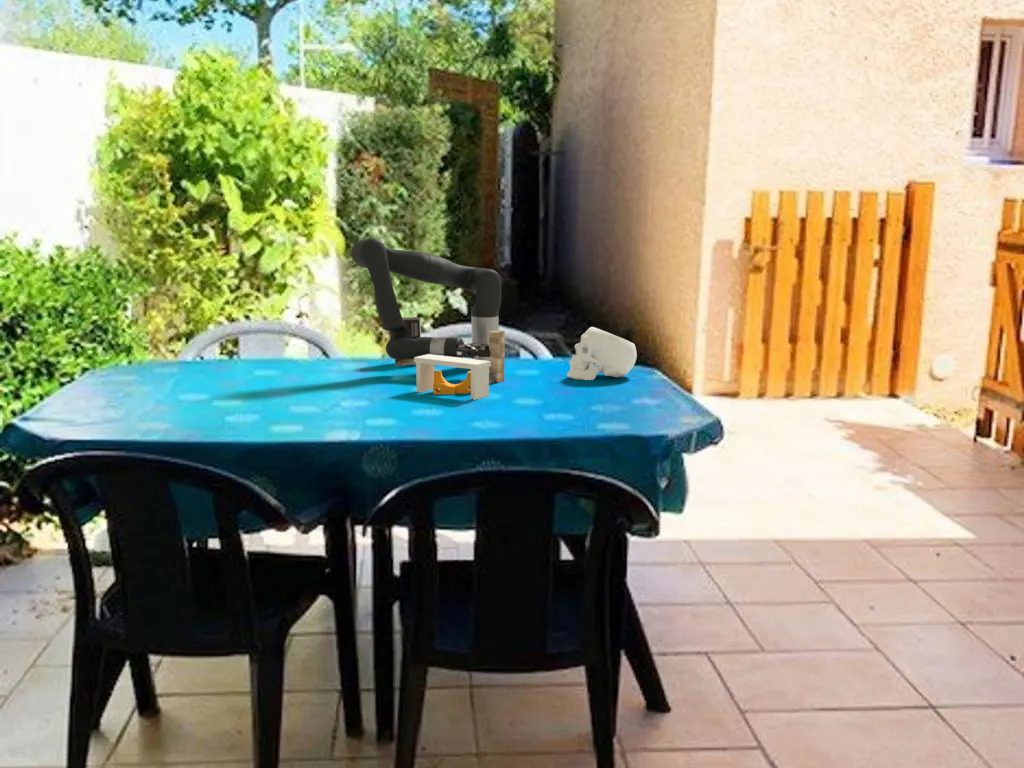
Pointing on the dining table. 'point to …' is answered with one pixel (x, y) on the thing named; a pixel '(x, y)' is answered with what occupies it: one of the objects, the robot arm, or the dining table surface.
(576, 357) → the skull planter
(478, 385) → the shelf
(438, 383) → the pipe clamp
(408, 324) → the coffee box
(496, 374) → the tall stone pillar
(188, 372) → the dining table surface
